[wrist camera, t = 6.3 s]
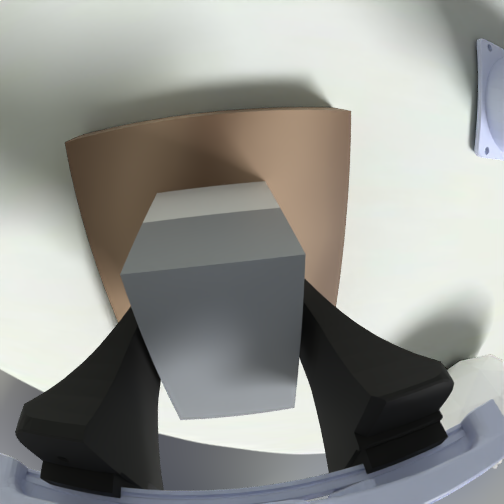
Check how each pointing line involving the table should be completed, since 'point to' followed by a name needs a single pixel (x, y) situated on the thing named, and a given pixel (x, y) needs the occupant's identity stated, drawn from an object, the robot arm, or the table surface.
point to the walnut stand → (217, 179)
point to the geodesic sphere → (473, 388)
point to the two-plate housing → (219, 299)
